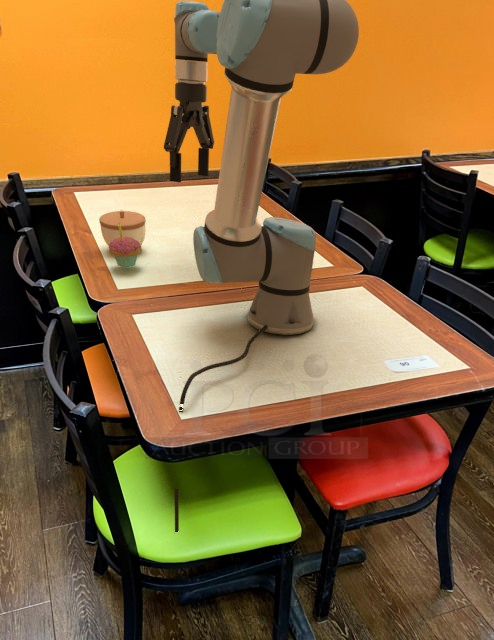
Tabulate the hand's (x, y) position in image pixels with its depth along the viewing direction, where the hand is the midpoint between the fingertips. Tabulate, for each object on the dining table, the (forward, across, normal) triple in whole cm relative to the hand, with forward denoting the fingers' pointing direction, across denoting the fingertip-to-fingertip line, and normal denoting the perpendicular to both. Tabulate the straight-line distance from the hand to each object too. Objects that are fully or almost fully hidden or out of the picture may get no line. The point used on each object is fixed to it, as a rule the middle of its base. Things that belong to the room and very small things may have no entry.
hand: (189, 178), depth 144 cm
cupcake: (+23, +9, -14) cm, 28 cm away
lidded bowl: (+22, -1, -22) cm, 32 cm away
